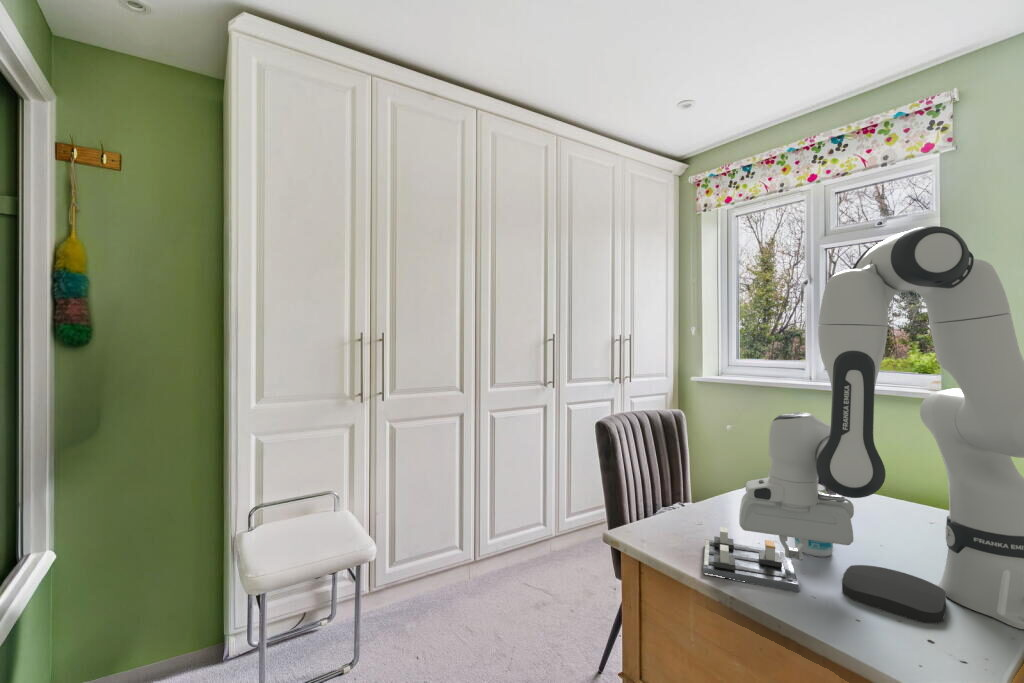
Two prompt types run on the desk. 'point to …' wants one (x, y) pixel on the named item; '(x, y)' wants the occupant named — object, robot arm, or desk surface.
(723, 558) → the breaker
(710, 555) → the panel
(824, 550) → the pill bottle
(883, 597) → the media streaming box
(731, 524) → the desk surface
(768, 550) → the breaker trip
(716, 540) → the breaker
